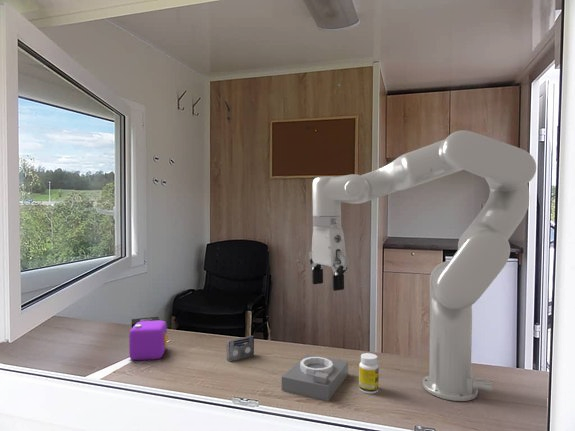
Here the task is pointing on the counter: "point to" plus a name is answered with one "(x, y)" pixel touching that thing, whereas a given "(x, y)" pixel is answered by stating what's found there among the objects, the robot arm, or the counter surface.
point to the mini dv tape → (240, 348)
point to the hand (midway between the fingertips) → (327, 286)
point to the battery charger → (144, 320)
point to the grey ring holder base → (315, 377)
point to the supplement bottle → (368, 373)
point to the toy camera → (148, 340)
